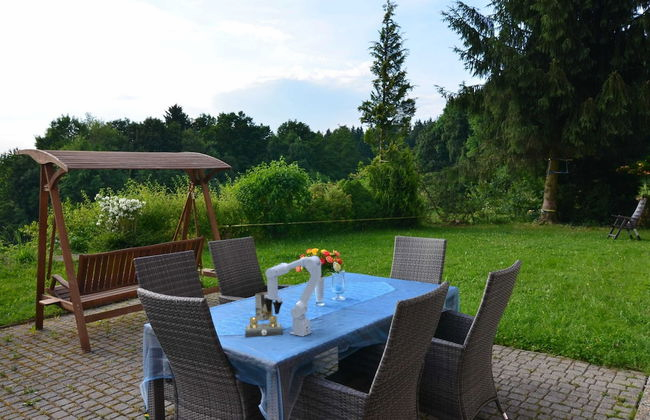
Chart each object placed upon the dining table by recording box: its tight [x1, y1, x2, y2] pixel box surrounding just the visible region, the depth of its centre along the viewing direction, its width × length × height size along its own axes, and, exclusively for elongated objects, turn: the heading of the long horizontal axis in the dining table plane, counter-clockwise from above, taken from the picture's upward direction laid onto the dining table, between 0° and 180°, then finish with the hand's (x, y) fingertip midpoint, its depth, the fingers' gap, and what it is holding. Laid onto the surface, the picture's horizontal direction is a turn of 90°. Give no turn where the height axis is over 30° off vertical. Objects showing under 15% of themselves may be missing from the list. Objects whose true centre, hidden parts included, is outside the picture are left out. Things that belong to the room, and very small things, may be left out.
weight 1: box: [249, 316, 259, 328], centre depth 266 cm, size 4×4×5 cm
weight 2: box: [268, 315, 278, 327], centre depth 268 cm, size 4×4×5 cm
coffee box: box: [254, 291, 274, 322], centre depth 295 cm, size 9×6×16 cm
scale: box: [245, 322, 284, 338], centre depth 265 cm, size 14×20×4 cm
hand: (273, 312), depth 268 cm, fingers open, 7 cm apart
